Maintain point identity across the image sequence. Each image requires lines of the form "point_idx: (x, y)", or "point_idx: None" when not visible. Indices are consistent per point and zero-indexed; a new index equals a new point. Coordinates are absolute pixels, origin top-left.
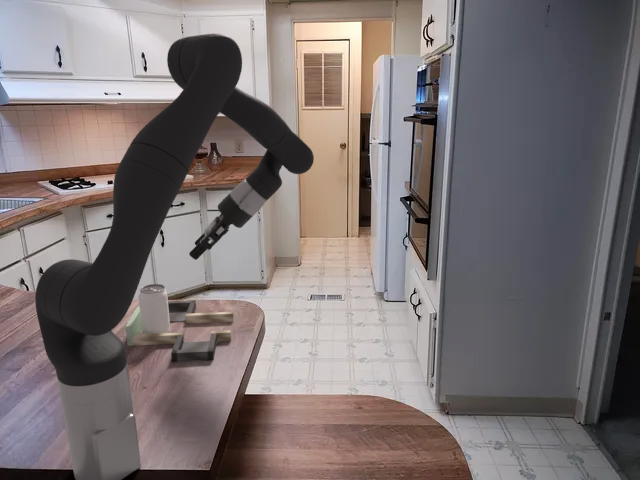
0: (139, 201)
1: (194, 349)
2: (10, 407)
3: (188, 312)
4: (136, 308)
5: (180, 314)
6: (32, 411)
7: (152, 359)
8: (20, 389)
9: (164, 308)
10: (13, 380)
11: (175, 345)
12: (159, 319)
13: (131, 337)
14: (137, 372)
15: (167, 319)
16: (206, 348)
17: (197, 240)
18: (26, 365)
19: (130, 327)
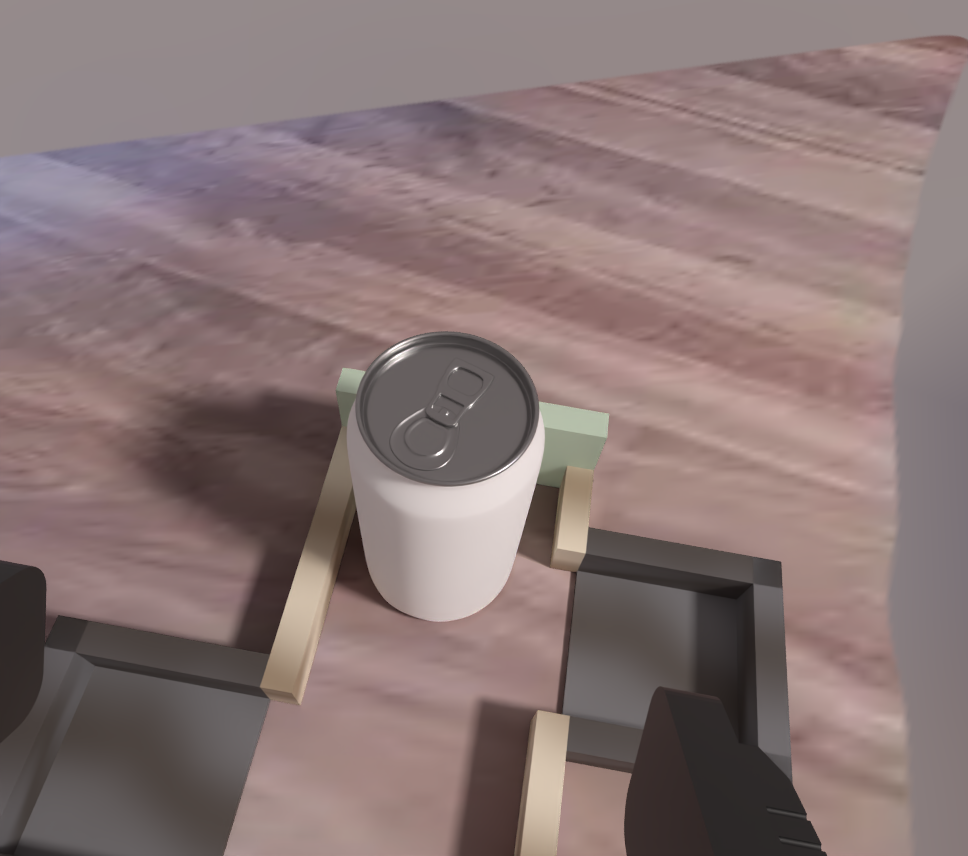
0: None
1: (23, 755)
2: (74, 156)
3: (585, 732)
4: (568, 407)
5: (660, 685)
6: (10, 203)
7: (164, 538)
8: (172, 161)
9: (379, 535)
10: (243, 139)
11: (140, 639)
12: (361, 527)
13: (343, 424)
14: (75, 479)
15: (400, 581)
16: (125, 846)
17: (669, 737)
18: (331, 153)
19: (336, 392)
